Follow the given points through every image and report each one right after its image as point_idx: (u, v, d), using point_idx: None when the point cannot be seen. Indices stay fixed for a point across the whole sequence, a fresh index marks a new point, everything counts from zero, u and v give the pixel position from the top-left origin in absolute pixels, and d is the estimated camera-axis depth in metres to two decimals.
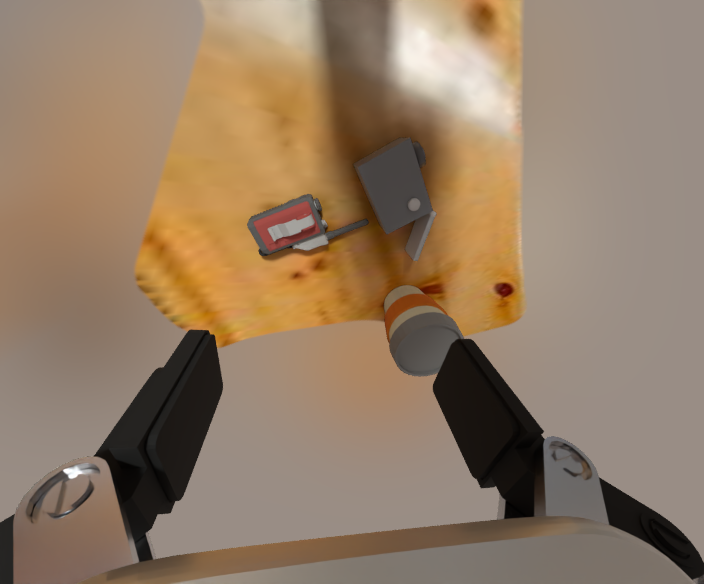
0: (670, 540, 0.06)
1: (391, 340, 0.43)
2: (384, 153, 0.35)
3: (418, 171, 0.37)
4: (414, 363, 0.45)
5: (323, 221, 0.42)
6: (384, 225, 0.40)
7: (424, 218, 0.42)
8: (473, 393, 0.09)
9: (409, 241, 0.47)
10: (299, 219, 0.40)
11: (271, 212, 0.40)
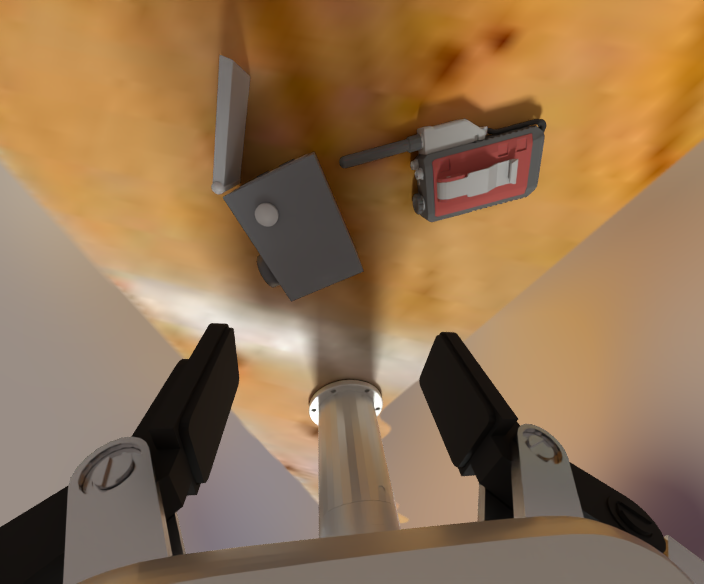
0: (634, 520, 0.06)
1: None
2: (325, 285, 0.25)
3: (269, 263, 0.23)
4: None
5: (419, 177, 0.25)
6: (319, 175, 0.20)
7: (231, 171, 0.21)
8: (455, 384, 0.09)
9: (245, 105, 0.21)
10: (462, 196, 0.24)
11: (491, 204, 0.26)
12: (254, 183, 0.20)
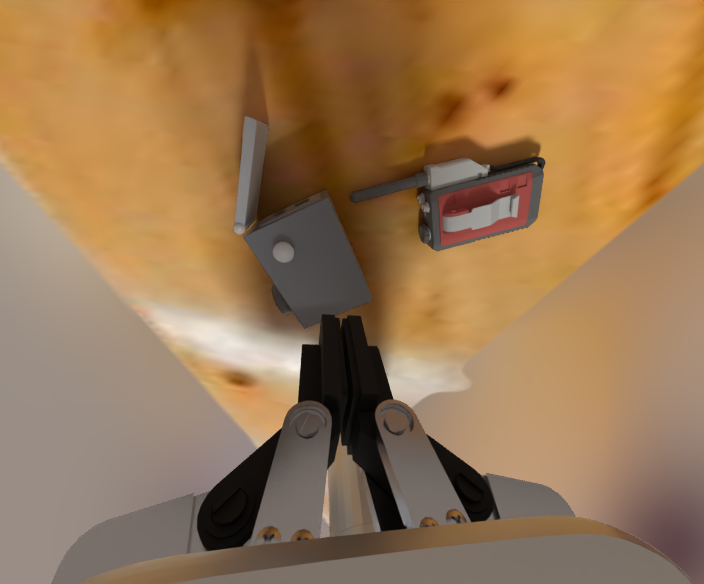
0: (466, 489, 0.06)
1: None
2: (336, 313, 0.27)
3: (285, 294, 0.25)
4: None
5: (426, 210, 0.26)
6: (333, 216, 0.22)
7: (250, 211, 0.23)
8: (345, 364, 0.09)
9: (263, 151, 0.23)
10: (466, 229, 0.25)
11: (493, 235, 0.28)
12: (273, 224, 0.21)
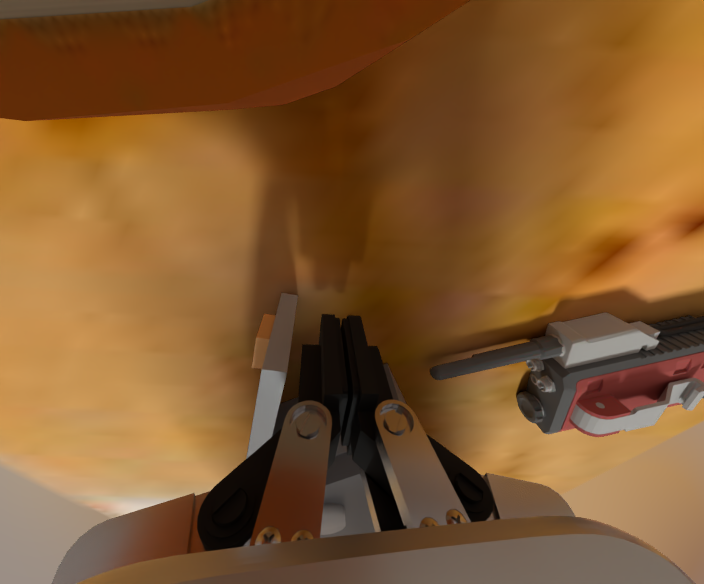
0: (466, 489, 0.06)
1: None
2: None
3: None
4: None
5: None
6: None
7: None
8: (345, 364, 0.09)
9: None
10: (617, 431, 0.16)
11: None
12: None
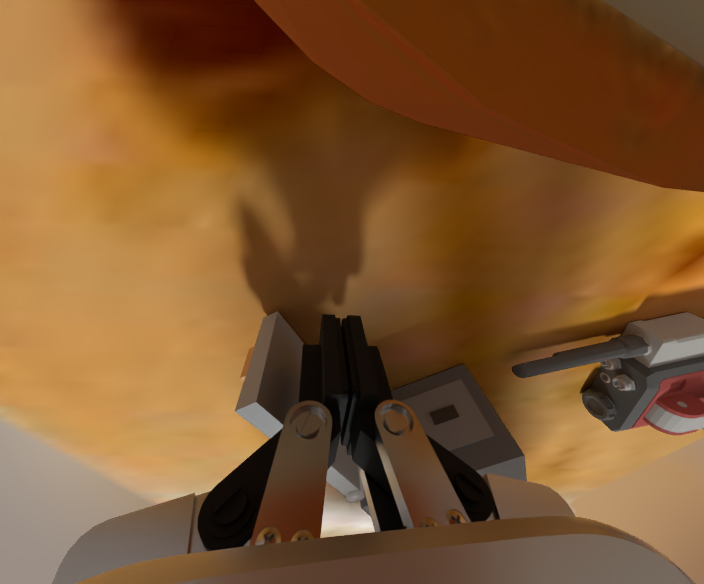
0: (465, 489, 0.06)
1: None
2: None
3: None
4: None
5: None
6: (520, 470, 0.12)
7: None
8: None
9: (299, 349, 0.13)
10: (696, 429, 0.16)
11: None
12: None
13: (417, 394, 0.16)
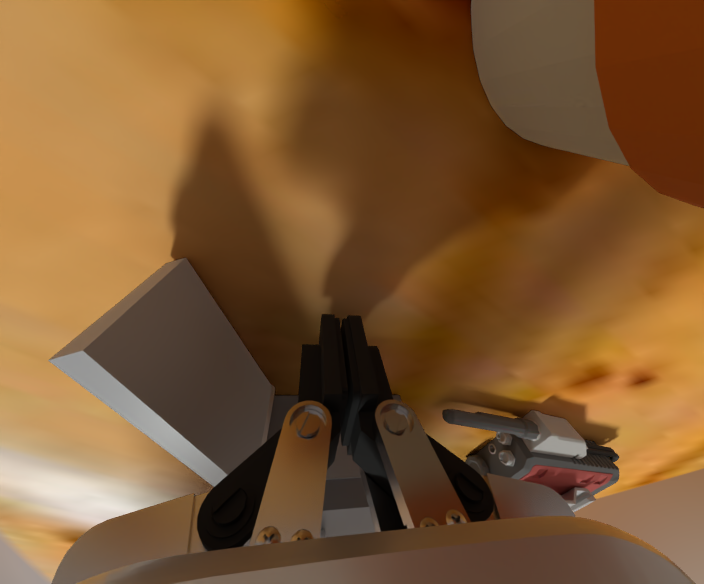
0: (466, 489, 0.06)
1: None
2: None
3: None
4: None
5: (505, 463, 0.19)
6: None
7: (250, 436, 0.11)
8: (345, 364, 0.09)
9: (207, 311, 0.10)
10: None
11: None
12: None
13: None
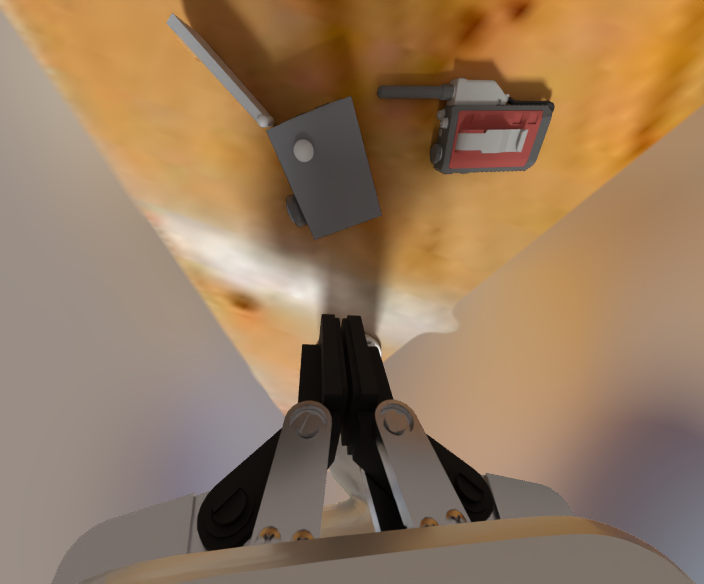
0: (466, 489, 0.06)
1: None
2: (346, 226, 0.28)
3: (300, 200, 0.26)
4: None
5: (444, 126, 0.27)
6: (353, 117, 0.23)
7: (257, 105, 0.23)
8: (345, 364, 0.09)
9: (217, 55, 0.23)
10: (477, 150, 0.27)
11: (495, 169, 0.30)
12: (295, 119, 0.22)
13: None
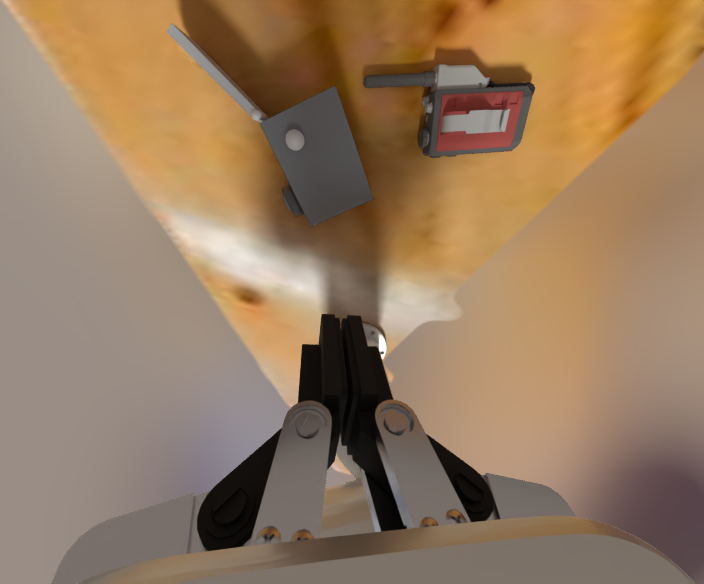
0: (466, 489, 0.06)
1: None
2: (340, 212, 0.30)
3: (295, 188, 0.28)
4: None
5: (428, 110, 0.29)
6: (339, 105, 0.24)
7: (251, 102, 0.25)
8: (345, 364, 0.09)
9: (213, 61, 0.25)
10: (461, 131, 0.28)
11: (482, 151, 0.31)
12: (286, 111, 0.24)
13: None
